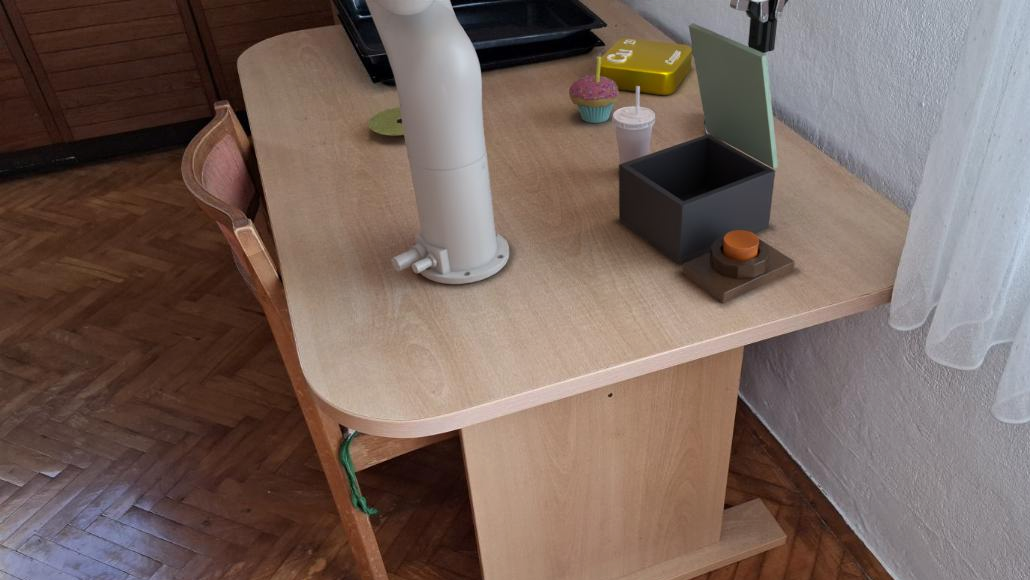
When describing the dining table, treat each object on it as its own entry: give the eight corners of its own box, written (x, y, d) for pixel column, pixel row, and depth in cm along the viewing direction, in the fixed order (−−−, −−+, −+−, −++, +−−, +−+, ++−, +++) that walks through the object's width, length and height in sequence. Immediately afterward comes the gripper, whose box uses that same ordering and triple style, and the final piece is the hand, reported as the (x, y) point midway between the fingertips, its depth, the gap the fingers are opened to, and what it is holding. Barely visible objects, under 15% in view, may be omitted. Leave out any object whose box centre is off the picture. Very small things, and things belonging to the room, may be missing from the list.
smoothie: (650, 185, 129) (652, 96, 120) (609, 181, 130) (607, 93, 122) (656, 165, 134) (659, 79, 125) (616, 162, 135) (616, 76, 126)
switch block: (722, 303, 106) (725, 280, 103) (682, 274, 111) (683, 250, 108) (793, 271, 111) (797, 248, 108) (751, 244, 116) (754, 221, 114)
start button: (738, 265, 106) (739, 252, 105) (715, 250, 109) (716, 237, 108) (764, 254, 108) (766, 241, 107) (741, 239, 111) (742, 226, 110)
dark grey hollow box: (679, 265, 112) (682, 206, 107) (618, 221, 121) (618, 164, 116) (768, 228, 119) (775, 170, 114) (704, 188, 128) (708, 133, 122)
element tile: (671, 97, 154) (672, 71, 151) (593, 87, 158) (593, 61, 155) (693, 67, 165) (694, 42, 162) (620, 58, 169) (620, 34, 166)
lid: (761, 57, 101) (766, 54, 101) (688, 25, 110) (693, 22, 110) (773, 169, 113) (778, 166, 113) (706, 132, 122) (710, 129, 122)
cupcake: (628, 119, 147) (629, 50, 140) (588, 132, 144) (585, 62, 136) (600, 103, 153) (599, 36, 145) (560, 115, 149) (557, 47, 142)
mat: (417, 149, 140) (415, 138, 139) (357, 140, 143) (355, 129, 142) (448, 120, 148) (446, 110, 147) (391, 113, 151) (389, 102, 150)
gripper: (749, -93, 93) (736, 71, 104) (846, -113, 99) (823, 44, 111) (705, -105, 98) (697, 53, 109) (799, -123, 104) (782, 28, 116)
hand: (760, 48), depth 110 cm, fingers closed
